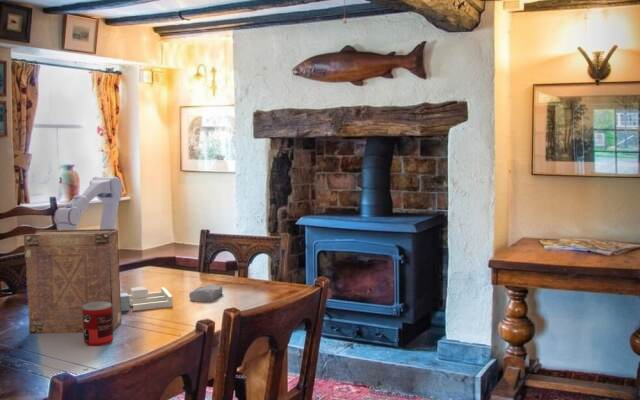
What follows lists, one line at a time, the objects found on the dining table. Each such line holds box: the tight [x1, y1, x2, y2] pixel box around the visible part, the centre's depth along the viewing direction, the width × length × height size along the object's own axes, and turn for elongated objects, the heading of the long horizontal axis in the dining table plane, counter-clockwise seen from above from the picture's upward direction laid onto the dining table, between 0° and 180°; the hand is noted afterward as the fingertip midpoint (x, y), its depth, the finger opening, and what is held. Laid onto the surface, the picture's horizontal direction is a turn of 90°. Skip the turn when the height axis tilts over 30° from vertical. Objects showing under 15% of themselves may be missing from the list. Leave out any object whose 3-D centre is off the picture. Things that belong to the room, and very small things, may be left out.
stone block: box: [189, 284, 223, 302], centre depth 241 cm, size 12×5×10 cm
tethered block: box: [120, 292, 130, 312], centre depth 223 cm, size 5×14×6 cm, turn 113°
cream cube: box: [130, 286, 149, 300], centre depth 235 cm, size 5×5×5 cm
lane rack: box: [128, 287, 174, 312], centre depth 232 cm, size 15×13×4 cm
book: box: [23, 228, 122, 334], centre depth 203 cm, size 25×9×30 cm, turn 91°
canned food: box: [82, 301, 114, 347], centre depth 189 cm, size 8×8×11 cm
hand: (70, 282), depth 225 cm, fingers open, 7 cm apart
